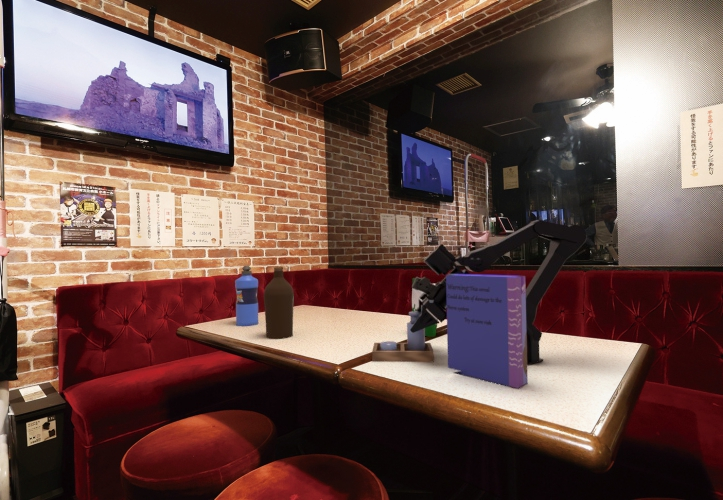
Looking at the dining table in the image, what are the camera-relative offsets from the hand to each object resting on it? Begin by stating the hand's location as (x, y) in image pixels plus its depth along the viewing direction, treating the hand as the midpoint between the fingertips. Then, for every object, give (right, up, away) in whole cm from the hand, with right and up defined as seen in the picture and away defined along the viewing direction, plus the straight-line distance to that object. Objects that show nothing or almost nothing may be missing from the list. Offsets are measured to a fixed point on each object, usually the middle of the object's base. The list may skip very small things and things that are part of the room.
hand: (410, 327), depth 104 cm
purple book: (+16, -9, -15) cm, 23 cm away
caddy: (-2, -9, 0) cm, 9 cm away
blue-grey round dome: (-6, -8, +1) cm, 10 cm away
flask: (+2, -8, 0) cm, 8 cm away
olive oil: (-43, -10, +34) cm, 56 cm away
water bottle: (-62, -11, +58) cm, 86 cm away
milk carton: (+9, -9, +31) cm, 34 cm away
